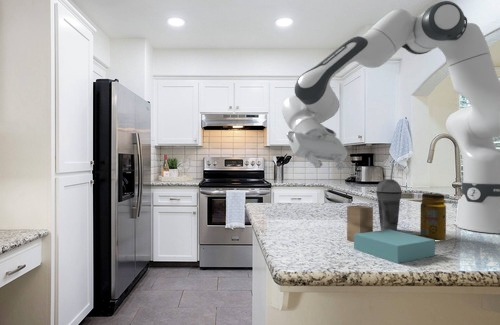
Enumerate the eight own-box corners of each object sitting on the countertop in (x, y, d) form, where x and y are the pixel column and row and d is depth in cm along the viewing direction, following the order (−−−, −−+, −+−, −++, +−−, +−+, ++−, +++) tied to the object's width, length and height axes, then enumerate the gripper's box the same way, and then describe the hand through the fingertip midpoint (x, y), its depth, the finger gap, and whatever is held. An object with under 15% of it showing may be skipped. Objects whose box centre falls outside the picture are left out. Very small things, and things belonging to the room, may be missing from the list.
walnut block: (359, 238, 86) (359, 205, 86) (372, 242, 82) (372, 207, 82) (347, 240, 84) (347, 206, 84) (359, 244, 80) (360, 208, 80)
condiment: (452, 238, 85) (452, 194, 85) (436, 243, 81) (436, 196, 81) (425, 233, 92) (425, 192, 92) (409, 237, 87) (409, 193, 87)
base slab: (389, 243, 80) (389, 229, 80) (434, 255, 70) (434, 239, 70) (353, 248, 75) (353, 234, 75) (397, 263, 64) (397, 246, 64)
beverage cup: (373, 227, 100) (373, 164, 100) (397, 228, 99) (397, 164, 99) (379, 232, 93) (379, 164, 93) (405, 233, 92) (405, 164, 92)
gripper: (290, 122, 92) (310, 157, 84) (338, 131, 103) (360, 162, 95) (279, 138, 96) (298, 172, 88) (326, 145, 107) (347, 176, 99)
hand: (331, 167), depth 92 cm, fingers open, 8 cm apart
